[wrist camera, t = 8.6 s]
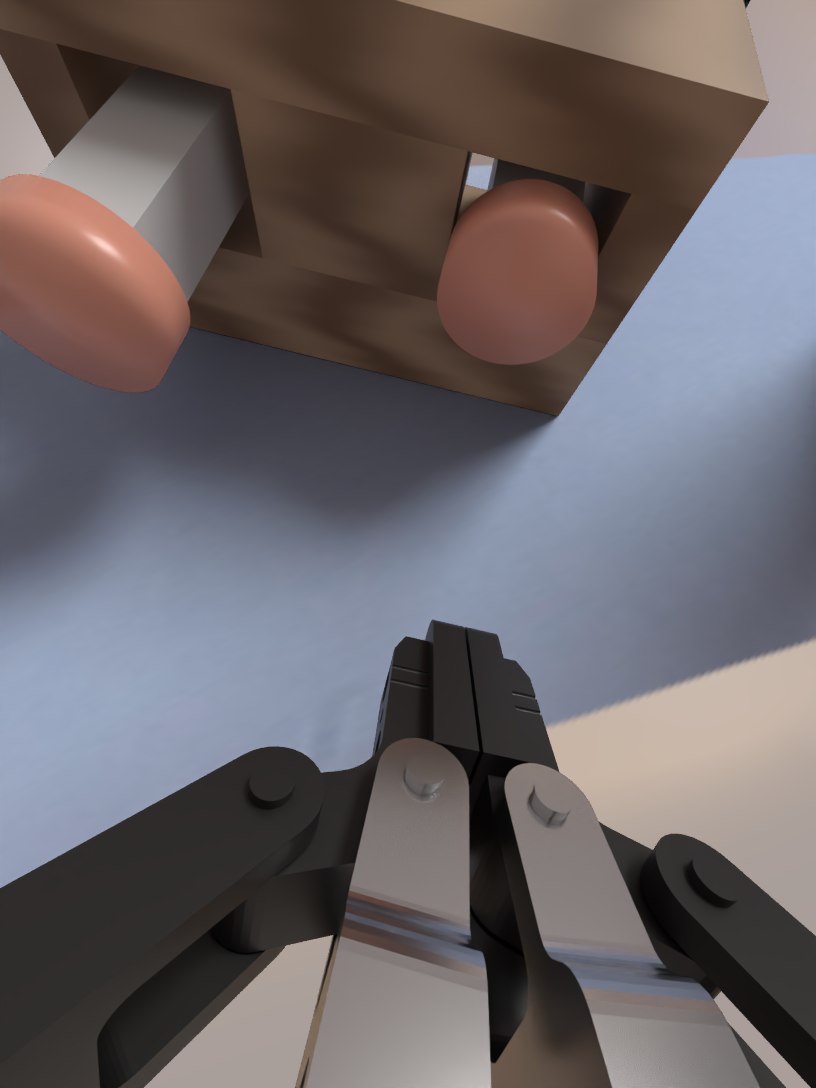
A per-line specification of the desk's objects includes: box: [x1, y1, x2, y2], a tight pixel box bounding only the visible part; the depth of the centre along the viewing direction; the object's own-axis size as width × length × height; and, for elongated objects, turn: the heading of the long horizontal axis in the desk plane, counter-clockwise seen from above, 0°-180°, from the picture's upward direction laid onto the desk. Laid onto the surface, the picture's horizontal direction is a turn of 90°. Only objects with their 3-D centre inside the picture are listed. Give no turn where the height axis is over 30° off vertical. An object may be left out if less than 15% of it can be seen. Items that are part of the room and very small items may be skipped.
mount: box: [0, 0, 769, 416], centre depth 18 cm, size 21×8×12 cm, turn 79°
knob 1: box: [0, 65, 250, 393], centre depth 14 cm, size 5×10×5 cm, turn 169°
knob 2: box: [437, 158, 599, 365], centre depth 16 cm, size 5×10×5 cm, turn 169°
